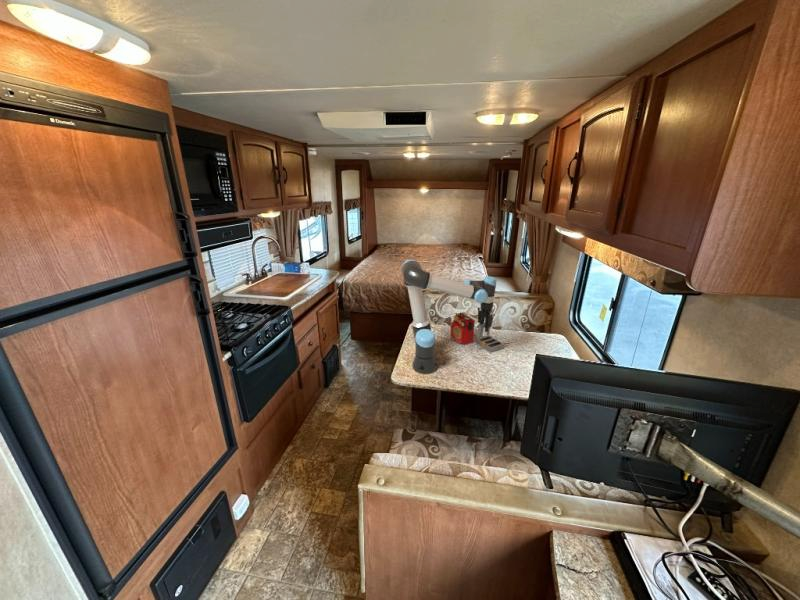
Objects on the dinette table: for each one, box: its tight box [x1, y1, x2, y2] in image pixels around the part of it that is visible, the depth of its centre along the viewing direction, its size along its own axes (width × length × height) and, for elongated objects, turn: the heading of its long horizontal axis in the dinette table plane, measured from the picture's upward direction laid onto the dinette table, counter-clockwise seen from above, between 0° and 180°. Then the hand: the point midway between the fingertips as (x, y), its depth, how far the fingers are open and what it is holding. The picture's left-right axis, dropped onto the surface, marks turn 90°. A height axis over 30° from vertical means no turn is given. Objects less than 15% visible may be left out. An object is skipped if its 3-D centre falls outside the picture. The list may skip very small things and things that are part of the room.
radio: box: [450, 311, 476, 345], centre depth 218 cm, size 16×10×20 cm, turn 28°
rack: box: [475, 334, 505, 354], centre depth 214 cm, size 12×15×4 cm
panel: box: [476, 322, 491, 338], centre depth 198 cm, size 8×2×8 cm, turn 118°
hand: (483, 334), depth 200 cm, fingers closed on panel, 2 cm apart
